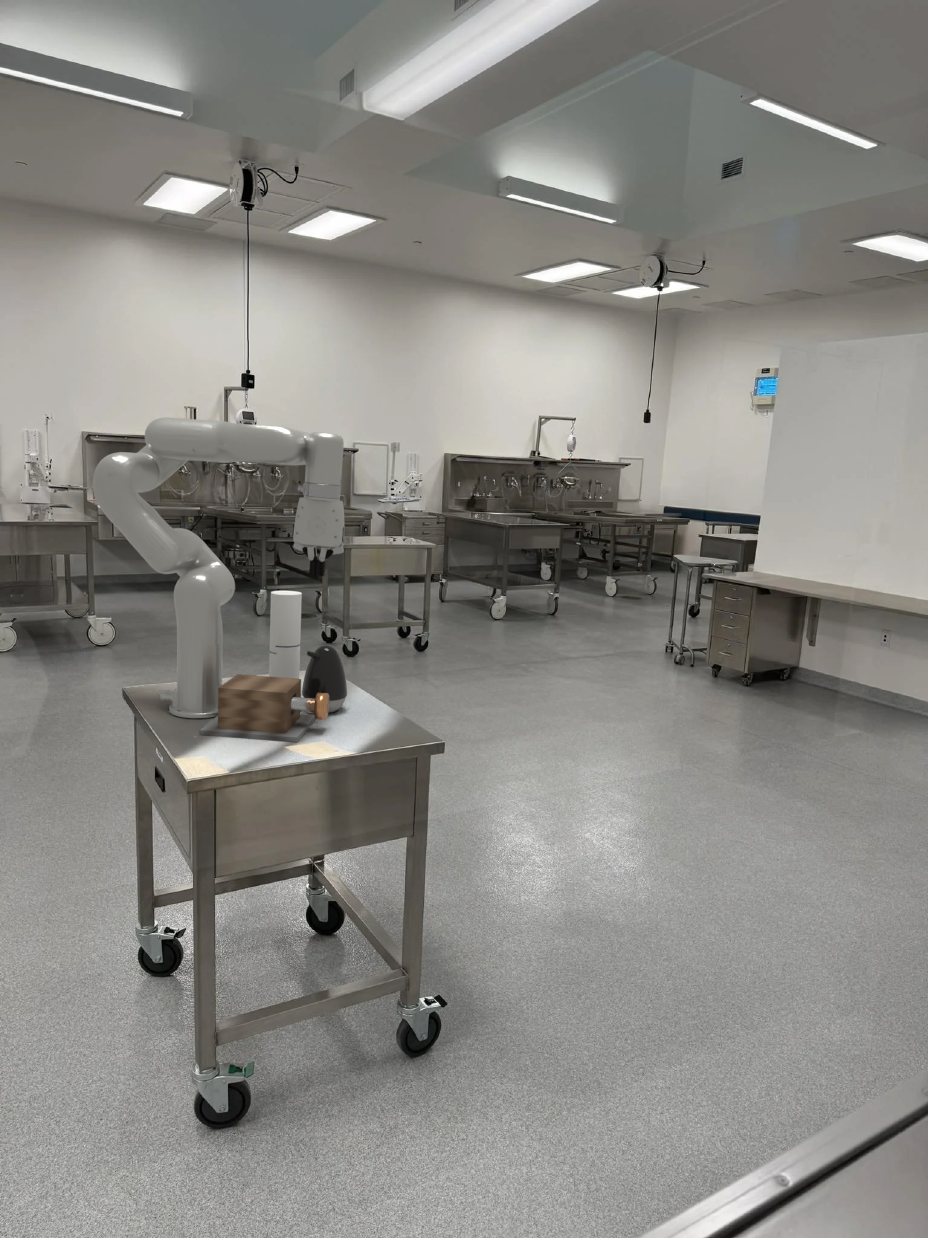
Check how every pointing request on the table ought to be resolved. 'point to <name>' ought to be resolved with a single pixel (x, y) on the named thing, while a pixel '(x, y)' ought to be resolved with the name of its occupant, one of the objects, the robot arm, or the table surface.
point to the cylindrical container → (285, 634)
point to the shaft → (312, 705)
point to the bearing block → (259, 709)
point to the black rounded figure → (325, 676)
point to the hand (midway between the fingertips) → (316, 578)
